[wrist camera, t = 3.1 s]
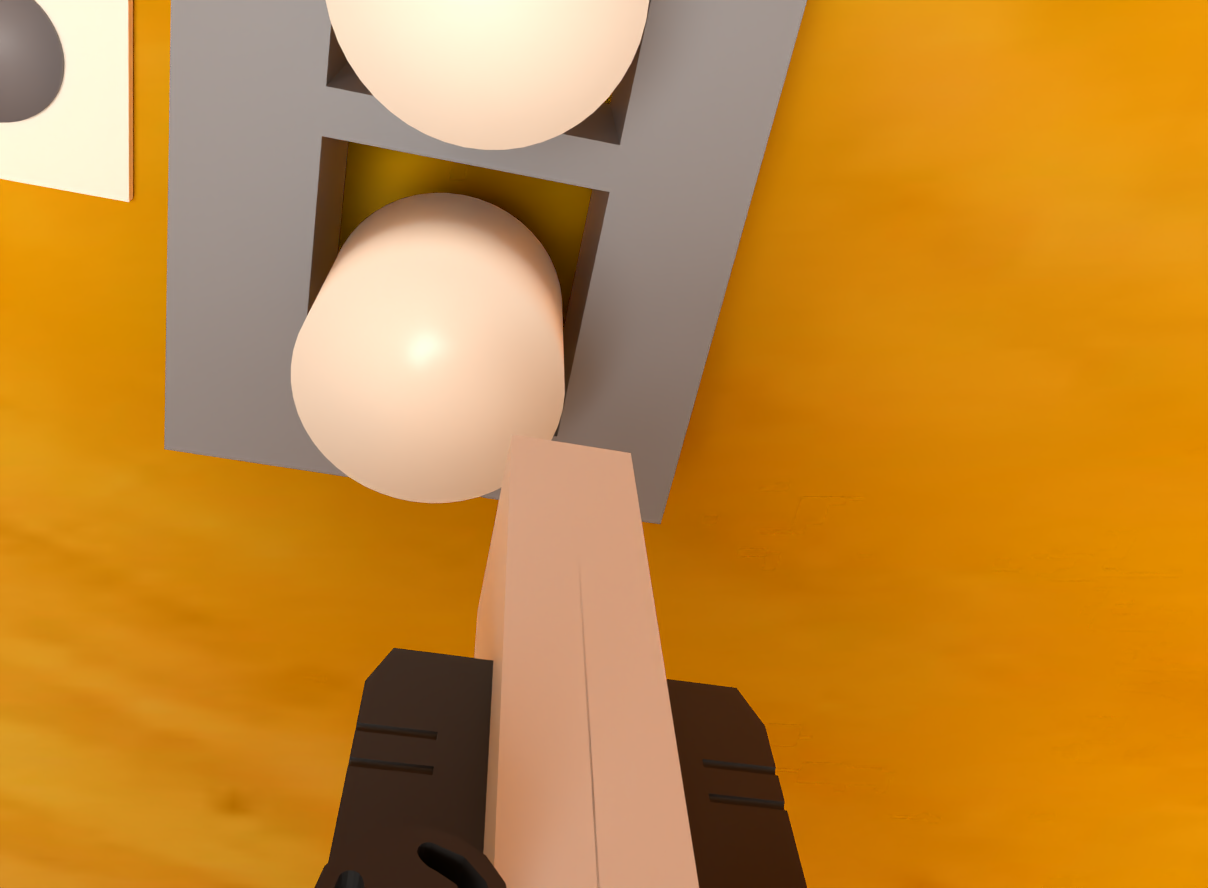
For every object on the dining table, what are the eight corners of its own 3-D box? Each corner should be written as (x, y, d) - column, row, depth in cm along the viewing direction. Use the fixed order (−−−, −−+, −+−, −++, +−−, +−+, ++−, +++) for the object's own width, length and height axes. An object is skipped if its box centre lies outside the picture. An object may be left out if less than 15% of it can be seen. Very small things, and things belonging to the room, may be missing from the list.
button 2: (335, 352, 26) (281, 482, 21) (355, 146, 24) (301, 234, 18) (540, 386, 27) (538, 520, 21) (580, 190, 24) (588, 287, 19)
